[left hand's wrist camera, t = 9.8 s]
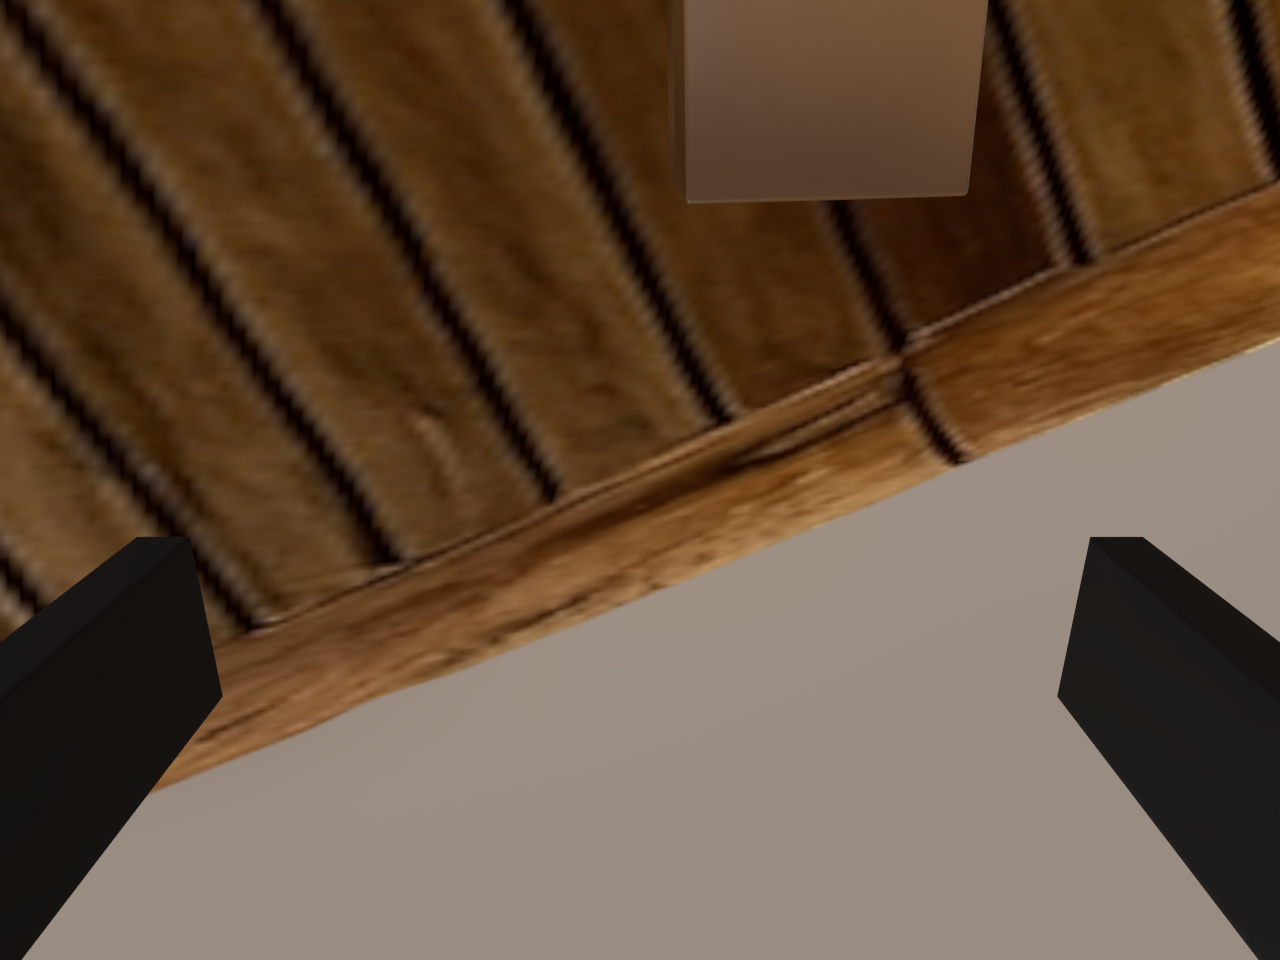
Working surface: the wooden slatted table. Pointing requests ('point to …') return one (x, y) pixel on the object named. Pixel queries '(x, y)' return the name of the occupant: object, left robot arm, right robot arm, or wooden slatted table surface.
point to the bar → (822, 98)
